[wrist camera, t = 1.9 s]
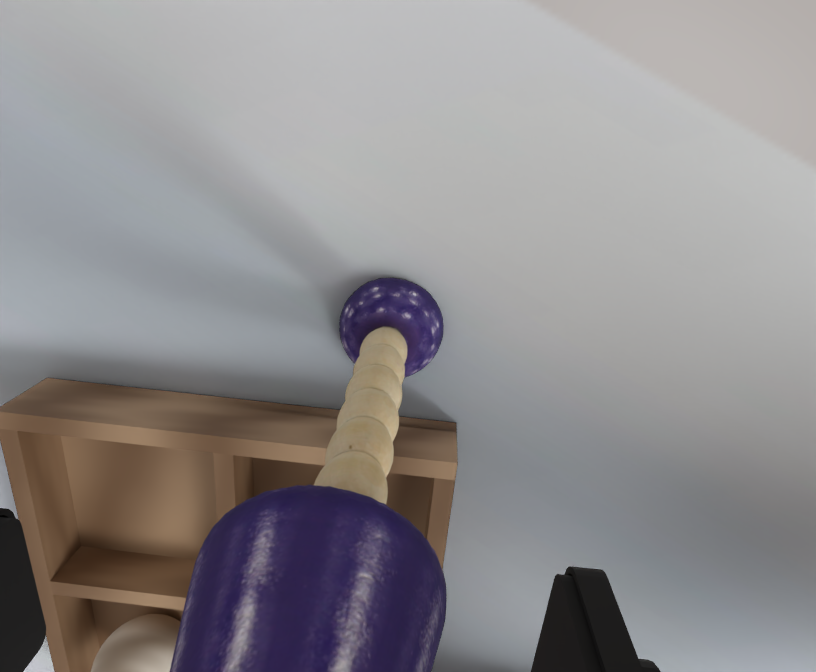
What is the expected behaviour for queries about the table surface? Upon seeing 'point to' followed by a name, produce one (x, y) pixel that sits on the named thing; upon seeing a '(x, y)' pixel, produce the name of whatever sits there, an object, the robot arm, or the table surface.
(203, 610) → the toy lamp
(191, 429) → the organizer
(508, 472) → the table surface
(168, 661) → the egg
